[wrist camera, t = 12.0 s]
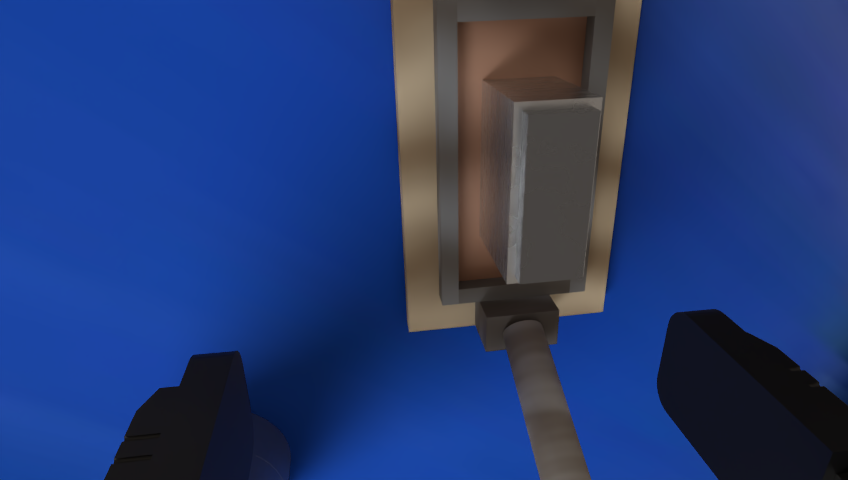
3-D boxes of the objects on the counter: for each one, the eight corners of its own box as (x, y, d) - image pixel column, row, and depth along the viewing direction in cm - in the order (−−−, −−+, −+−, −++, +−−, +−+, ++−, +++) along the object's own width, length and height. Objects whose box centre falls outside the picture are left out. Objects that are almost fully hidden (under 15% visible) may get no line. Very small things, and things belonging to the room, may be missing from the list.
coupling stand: (589, 354, 40) (712, 538, 27) (409, 375, 39) (446, 580, 25) (650, -166, 27) (951, -307, 14) (381, -164, 25) (428, -321, 12)
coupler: (555, 76, 30) (611, 100, 24) (544, 229, 34) (589, 284, 27) (482, 79, 29) (519, 106, 23) (479, 234, 33) (511, 292, 27)
